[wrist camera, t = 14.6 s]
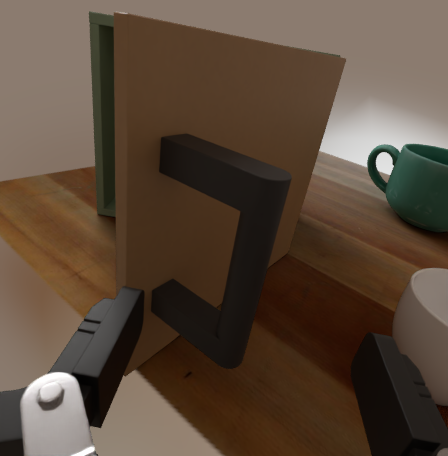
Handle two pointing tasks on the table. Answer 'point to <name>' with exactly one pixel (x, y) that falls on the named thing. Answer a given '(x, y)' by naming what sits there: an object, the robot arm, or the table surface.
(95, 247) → the table surface
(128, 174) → the cupboard door
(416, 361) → the cup
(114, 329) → the robot arm
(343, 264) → the table surface
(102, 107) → the cupboard
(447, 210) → the mug
